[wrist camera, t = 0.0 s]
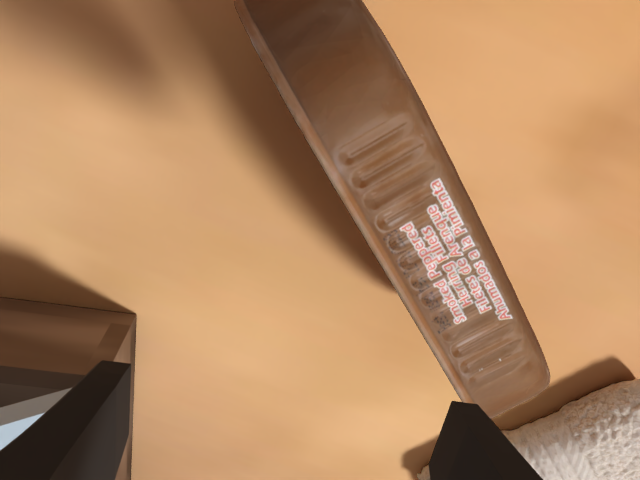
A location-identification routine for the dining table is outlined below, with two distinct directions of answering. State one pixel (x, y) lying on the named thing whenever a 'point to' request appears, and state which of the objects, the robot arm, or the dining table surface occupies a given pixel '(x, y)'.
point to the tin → (400, 191)
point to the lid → (24, 415)
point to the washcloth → (584, 437)
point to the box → (61, 351)
